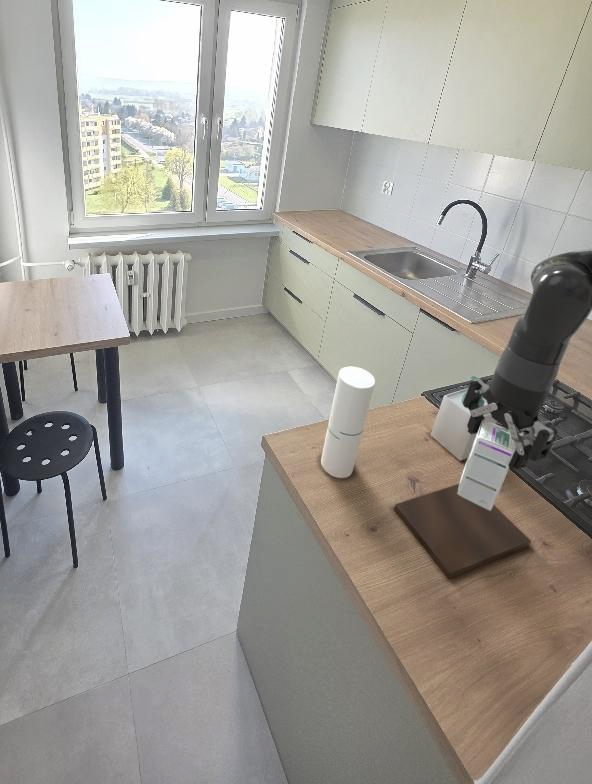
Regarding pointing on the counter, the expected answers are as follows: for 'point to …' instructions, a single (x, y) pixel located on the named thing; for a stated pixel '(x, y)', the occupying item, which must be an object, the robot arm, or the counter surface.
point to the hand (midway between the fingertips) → (492, 448)
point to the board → (459, 530)
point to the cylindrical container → (347, 420)
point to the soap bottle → (456, 424)
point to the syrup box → (487, 465)
